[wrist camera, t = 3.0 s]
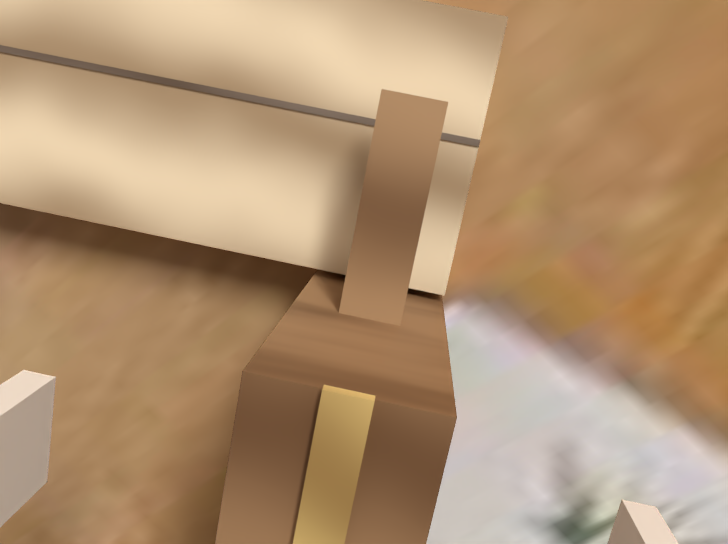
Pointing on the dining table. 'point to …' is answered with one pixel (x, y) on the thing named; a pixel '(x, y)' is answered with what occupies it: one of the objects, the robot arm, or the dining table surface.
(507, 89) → the dining table surface
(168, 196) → the board
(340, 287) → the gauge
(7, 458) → the robot arm
